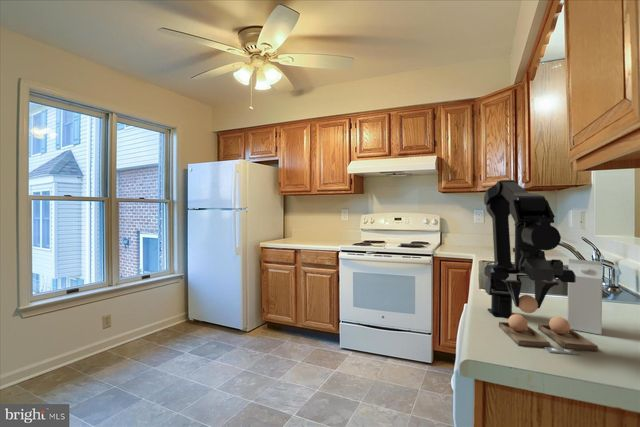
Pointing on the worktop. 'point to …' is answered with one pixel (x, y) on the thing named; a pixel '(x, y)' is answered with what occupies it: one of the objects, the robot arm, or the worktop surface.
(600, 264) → the milk carton
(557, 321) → the ball
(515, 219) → the robot arm
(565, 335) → the trough
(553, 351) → the card
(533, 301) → the ball
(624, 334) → the worktop surface
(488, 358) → the worktop surface
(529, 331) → the trough
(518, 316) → the ball
